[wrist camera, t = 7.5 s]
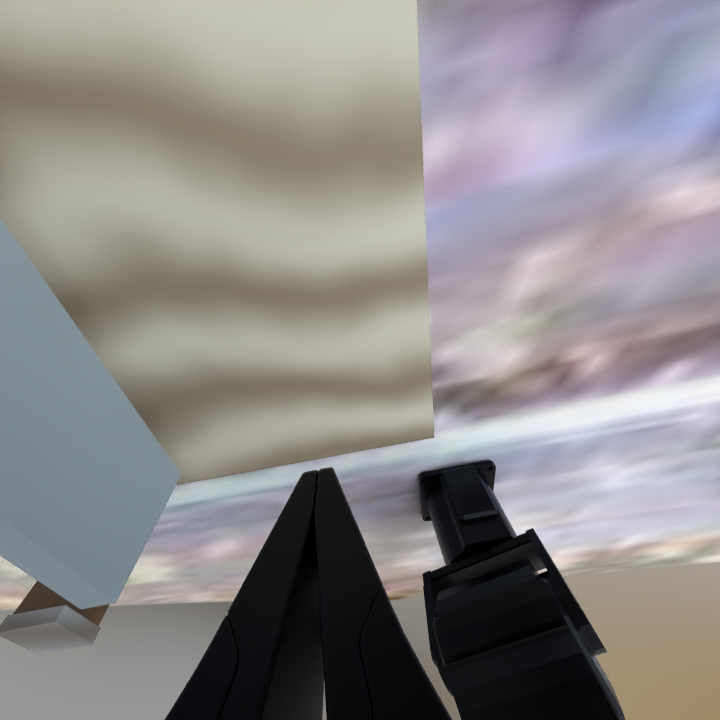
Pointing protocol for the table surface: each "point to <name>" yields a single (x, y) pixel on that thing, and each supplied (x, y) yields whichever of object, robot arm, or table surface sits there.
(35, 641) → the latch post
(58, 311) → the gate
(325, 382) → the base board
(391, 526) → the table surface
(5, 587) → the table surface
